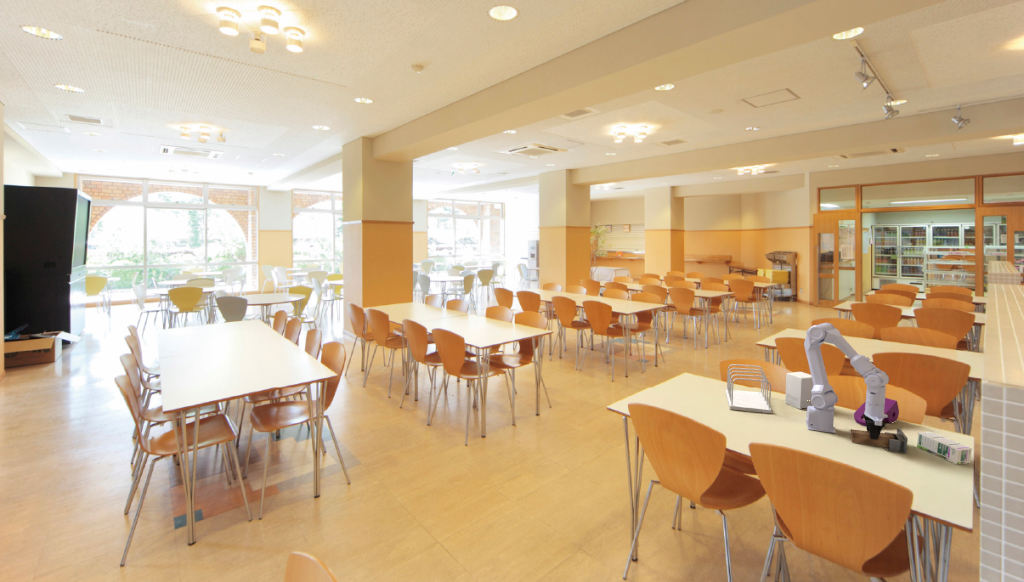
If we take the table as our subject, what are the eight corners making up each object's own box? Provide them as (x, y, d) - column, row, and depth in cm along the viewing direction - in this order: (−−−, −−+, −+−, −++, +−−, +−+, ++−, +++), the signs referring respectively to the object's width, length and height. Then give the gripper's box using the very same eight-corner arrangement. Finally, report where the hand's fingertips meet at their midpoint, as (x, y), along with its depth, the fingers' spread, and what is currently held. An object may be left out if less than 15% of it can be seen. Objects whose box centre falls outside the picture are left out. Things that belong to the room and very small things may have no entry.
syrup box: (917, 432, 177) (958, 449, 163) (931, 431, 178) (973, 448, 163) (916, 446, 178) (956, 465, 163) (929, 445, 178) (971, 464, 164)
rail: (852, 442, 182) (852, 432, 182) (850, 438, 185) (850, 429, 185) (894, 447, 176) (894, 437, 176) (891, 444, 179) (892, 434, 179)
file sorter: (771, 414, 212) (773, 381, 210) (729, 410, 218) (730, 377, 216) (763, 395, 235) (764, 365, 233) (725, 392, 241) (726, 363, 239)
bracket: (887, 451, 175) (889, 435, 174) (881, 440, 183) (882, 425, 183) (906, 453, 172) (907, 438, 171) (898, 442, 181) (899, 428, 180)
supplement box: (815, 407, 218) (817, 376, 216) (800, 409, 216) (801, 378, 214) (799, 401, 227) (801, 371, 225) (784, 403, 224) (785, 372, 223)
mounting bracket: (877, 441, 195) (900, 416, 201) (873, 425, 193) (897, 401, 199) (852, 433, 204) (875, 409, 210) (848, 417, 201) (872, 394, 207)
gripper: (893, 410, 171) (890, 446, 172) (883, 397, 183) (880, 431, 185) (869, 407, 174) (866, 442, 175) (861, 395, 187) (858, 428, 188)
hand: (872, 436), depth 180 cm, fingers open, 4 cm apart
